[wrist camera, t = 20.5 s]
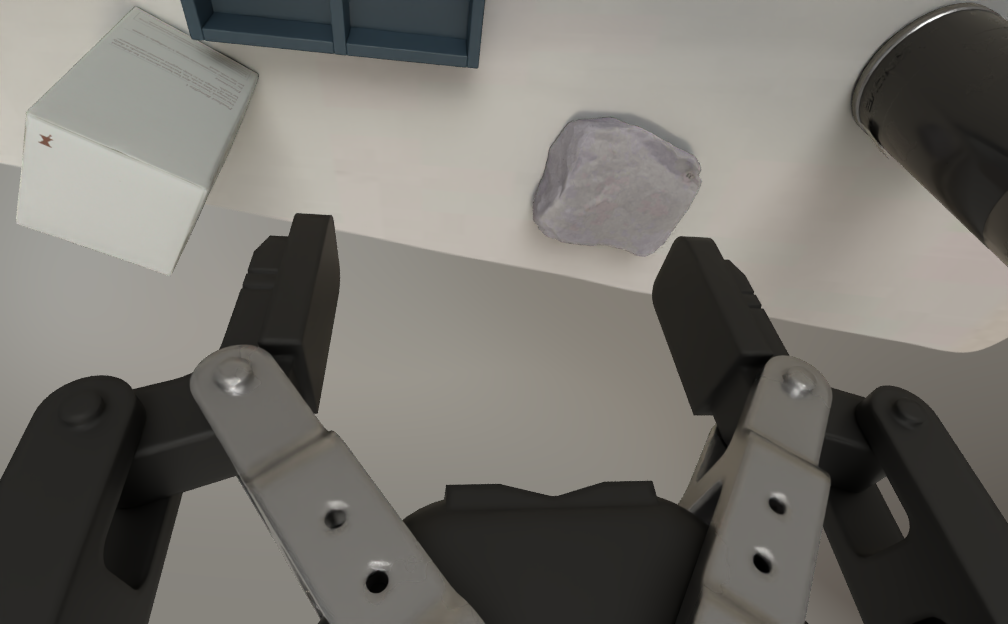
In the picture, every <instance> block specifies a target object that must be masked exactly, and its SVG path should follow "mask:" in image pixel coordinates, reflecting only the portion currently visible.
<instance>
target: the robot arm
mask: <svg viewBox="0 0 1008 624" xmlns="http://www.w3.org/2000/svg"><path fill="white" fill-rule="evenodd" d="M852 113H853V117H854V120H855V122H856V123H857V125H858V126H859V127H860V128H861V129H862V130H863V131H864V132H865V133H866V134H868V135H869V136H870V138H871V139H872V140H873V142H874V143H875V145H876V146H877V148H878V149H879V150H880V151H881V152H882V153H883V154H884V155H885V156H886V154H885V153H884V151H883V150H882V149H881V147H880V146H879V144H880V145H881V146H882V147H883V148H884V149H885V150H886V151H887V152H888V153H889V154H890V155H891V156H892V157H893V158H894V159H895V160H896V161H897V162H899V163H900V164H901V165H902V166H903V167H904V168H905V169H906V170H907V171H908V172H909V173H910V174H911V175H912V176H913V177H914V178H915V179H916V180H917V181H918V182H919V183H920V184H921V185H922V186H924V187H925V188H926V189H927V190H928V191H929V192H930V193H931V194H932V195H933V196H934V197H935V198H936V199H937V200H938V201H939V202H940V203H941V204H942V205H943V206H944V207H945V208H946V209H947V210H949V211H950V212H951V213H952V214H953V215H954V216H955V217H956V218H957V219H958V220H959V221H960V222H961V223H962V224H963V225H964V226H965V227H966V228H967V229H968V230H969V231H970V232H971V233H972V234H973V235H975V236H976V237H977V238H978V239H979V240H980V241H981V242H982V243H983V244H984V245H985V246H986V247H987V248H988V249H990V250H991V251H992V252H993V253H994V254H995V255H996V256H997V257H998V258H999V259H1000V260H1001V261H1002V262H1003V263H1004V264H1005V265H1006V266H1007V267H1008V21H1007V20H1005V19H1003V18H1002V17H1001V16H1000V15H999V14H998V13H996V12H995V11H993V10H991V9H989V8H987V7H985V6H983V5H980V4H975V3H959V4H953V5H949V6H945V7H942V8H939V9H937V10H934V11H932V12H930V13H928V14H926V15H924V16H922V17H920V18H918V19H917V20H915V21H913V22H912V23H910V24H909V25H907V26H906V27H904V28H903V29H902V30H900V31H899V32H898V33H897V34H896V35H894V36H893V37H892V38H891V39H890V40H889V41H888V42H887V43H886V44H885V45H884V46H883V47H882V48H881V49H880V50H879V51H878V52H877V53H876V54H875V55H874V57H873V58H872V59H871V61H870V62H869V63H868V65H867V66H866V68H865V69H864V71H863V73H862V74H861V76H860V78H859V80H858V83H857V85H856V87H855V91H854V94H853V99H852ZM877 142H878V143H879V144H878V143H877ZM886 157H887V156H886ZM887 158H888V157H887ZM339 287H340V267H339V259H338V250H337V242H336V235H335V227H334V220H333V217H332V215H319V214H301V213H296V214H295V216H294V219H293V222H292V226H291V229H290V233H289V236H288V237H287V236H269V237H268V238H267V239H266V240H265V241H264V242H263V243H262V244H261V246H259V247H258V248H257V249H256V250H255V251H254V253H253V256H252V259H251V262H250V265H249V268H248V274H246V276H245V279H244V282H243V288H242V289H241V291H240V293H239V296H238V299H237V302H236V305H235V308H234V311H233V313H232V316H231V319H230V322H229V325H228V328H227V331H226V333H225V337H224V339H223V342H222V344H221V347H220V349H219V350H217V351H215V352H213V353H212V354H210V355H208V356H207V357H206V358H205V359H203V360H202V361H201V362H200V363H199V364H198V366H197V367H196V368H195V370H194V372H192V373H191V374H188V375H186V376H184V377H180V378H177V379H174V380H170V381H166V382H161V383H157V384H153V385H149V386H145V387H141V388H137V389H132V388H131V386H130V385H129V384H128V383H126V382H125V381H123V380H122V379H119V378H116V377H112V376H103V375H100V376H90V377H85V378H81V379H78V380H75V381H73V382H70V383H68V384H66V385H64V386H62V387H60V388H59V389H57V390H56V391H54V392H53V393H51V394H50V395H49V396H48V397H47V398H46V399H45V400H43V402H42V403H41V404H40V405H39V406H38V408H37V409H36V411H35V413H34V414H33V416H32V418H31V420H30V422H29V424H28V426H27V428H26V430H25V432H24V434H23V436H22V438H21V440H20V442H19V444H18V446H17V448H16V450H15V452H14V454H13V456H12V458H11V460H10V462H9V464H8V466H7V468H6V470H5V472H4V474H3V476H2V478H1V479H0V624H148V622H149V618H150V614H151V610H152V607H153V603H154V599H155V595H156V592H157V588H158V584H159V580H160V576H161V573H162V569H163V565H164V561H165V558H166V554H167V550H168V546H169V542H170V538H171V535H172V531H173V527H174V523H175V520H176V516H177V512H178V508H179V505H180V501H181V497H182V493H183V492H185V491H189V490H192V489H195V488H198V487H201V486H205V485H208V484H211V483H214V482H218V481H221V480H224V479H227V478H230V477H234V476H236V477H237V478H238V480H239V482H240V483H241V485H242V487H243V488H244V490H245V492H246V493H247V495H248V497H249V499H250V500H251V502H252V504H253V505H254V507H255V509H256V510H257V512H258V514H259V515H260V517H261V519H262V521H263V522H264V524H265V526H266V527H267V529H268V530H269V532H270V534H271V536H272V538H273V539H274V541H275V543H276V544H277V546H278V548H279V549H280V551H281V553H282V555H283V557H284V558H285V560H286V562H287V564H288V566H289V567H290V569H291V571H292V572H293V574H294V576H295V578H296V579H297V581H298V582H299V584H300V586H301V588H302V589H303V591H304V593H305V595H306V596H307V598H308V599H309V601H310V603H311V605H312V606H313V608H314V610H315V611H316V613H317V615H318V616H319V618H320V621H319V623H318V624H808V623H807V622H806V621H805V617H806V612H807V607H808V602H809V596H810V591H811V586H812V581H813V575H814V570H815V565H816V559H817V554H818V549H819V544H820V538H821V533H822V528H824V530H825V533H826V535H827V537H828V540H829V542H830V544H831V547H832V549H833V552H834V554H835V556H836V559H837V561H838V563H839V566H840V568H841V571H842V573H843V575H844V578H845V580H846V583H847V585H848V587H849V590H850V592H851V594H852V597H853V599H854V601H855V604H856V606H857V608H858V611H859V613H860V616H861V618H862V620H863V623H864V624H1008V523H1007V522H1006V520H1005V519H1004V517H1003V515H1002V514H1001V512H1000V511H999V509H998V508H997V506H996V505H995V503H994V502H993V500H992V499H991V497H990V496H989V494H988V493H987V491H986V489H985V488H984V486H983V485H982V483H981V482H980V480H979V479H978V477H977V476H976V474H975V473H974V471H973V470H972V469H971V467H970V465H969V464H968V462H967V460H966V459H965V458H964V456H963V454H962V453H961V452H960V450H959V448H958V447H957V445H956V444H955V442H954V441H953V439H952V438H951V436H950V435H949V433H948V432H947V430H946V429H945V427H944V425H943V424H942V422H941V421H940V419H939V418H938V417H937V415H936V414H935V412H934V411H933V410H932V409H931V408H930V407H929V406H928V405H927V404H926V403H925V402H924V401H923V400H922V399H920V398H919V397H917V396H916V395H914V394H912V393H911V392H909V391H907V390H904V389H902V388H899V387H895V386H880V387H878V388H876V389H875V390H874V391H873V392H872V393H871V394H869V395H868V396H867V397H866V398H865V397H861V396H858V395H855V394H851V393H848V392H844V391H841V390H838V389H834V388H831V387H830V385H829V383H828V381H827V380H826V379H825V377H824V376H823V375H822V374H821V373H820V372H819V371H818V370H817V369H816V368H815V367H813V366H812V365H810V364H808V363H807V362H805V361H803V360H801V359H798V358H795V357H791V356H789V354H788V352H787V350H786V349H785V347H784V345H783V343H782V341H781V340H780V338H779V336H778V334H777V333H776V330H775V329H774V327H773V325H772V323H771V321H770V320H769V318H768V316H767V314H766V312H765V310H764V309H761V303H760V301H759V300H758V298H757V296H756V295H754V291H753V289H752V287H751V285H750V283H749V281H748V280H747V278H746V276H745V275H744V274H743V273H742V272H741V271H740V270H739V269H738V268H737V267H736V266H735V265H734V264H733V263H732V262H731V261H730V260H724V259H723V257H722V255H721V253H720V251H719V249H718V247H717V246H716V244H715V242H714V241H713V240H712V239H711V238H703V237H685V236H680V237H678V238H677V239H676V240H675V241H674V243H673V244H672V246H671V248H670V251H669V253H668V255H667V257H666V259H665V261H664V263H663V265H662V267H661V269H660V271H659V273H658V275H657V277H656V279H655V282H654V285H653V291H652V300H653V305H654V308H655V311H656V314H657V316H658V319H659V322H660V324H661V327H662V330H663V332H664V335H665V338H666V341H667V344H668V346H669V349H670V352H671V354H672V357H673V360H674V363H675V365H676V368H677V371H678V374H679V376H680V379H681V382H682V384H683V387H684V390H685V392H686V395H687V398H688V401H689V404H690V406H691V409H692V412H693V414H694V415H713V416H714V419H715V421H716V424H715V425H714V426H713V428H712V429H711V431H710V433H709V435H708V438H707V440H706V443H705V445H704V448H703V450H702V453H701V455H700V458H699V460H698V463H697V465H696V467H695V470H694V472H693V475H692V477H691V480H690V482H689V485H688V487H687V489H686V491H685V493H684V495H683V497H682V498H681V500H680V501H679V503H678V504H675V503H673V502H671V501H668V500H665V499H663V498H660V497H657V496H656V492H655V489H654V485H653V482H652V481H620V482H602V483H599V484H595V485H592V486H589V487H586V488H582V489H579V490H576V491H573V492H569V493H566V494H563V495H559V496H548V495H544V494H540V493H536V492H531V491H527V490H523V489H518V488H514V487H510V486H506V485H502V484H471V485H446V490H445V497H444V500H441V501H438V502H434V503H432V504H429V505H427V506H425V507H423V508H421V509H419V510H417V511H415V512H414V513H412V514H410V515H409V516H407V517H406V518H405V519H403V520H402V519H401V518H400V517H399V515H398V514H397V512H396V511H395V510H394V508H393V507H392V506H391V504H390V503H389V502H388V500H387V499H386V498H385V496H384V495H383V494H382V492H381V491H380V489H379V488H378V487H377V486H376V484H375V483H374V481H373V480H372V479H371V477H370V476H369V475H368V473H367V472H366V471H365V469H364V468H363V466H362V465H361V464H360V462H359V461H358V460H357V458H356V457H355V456H354V455H353V453H352V452H351V451H350V449H349V448H348V446H347V445H346V444H345V442H344V441H343V440H342V439H341V437H340V436H339V435H338V434H337V433H336V432H334V431H327V430H326V429H325V428H324V427H323V425H322V424H321V423H320V421H319V420H318V418H317V417H316V416H315V414H317V413H318V408H319V403H320V398H321V392H322V386H323V381H324V375H325V368H326V363H327V358H328V352H329V346H330V340H331V335H332V329H333V324H334V318H335V312H336V307H337V301H338V295H339ZM886 476H887V478H888V479H889V481H890V483H891V485H892V487H893V489H894V491H895V493H896V495H897V496H898V498H899V500H900V502H901V504H902V506H903V507H904V509H905V511H906V513H907V515H908V518H909V523H910V529H909V533H908V535H907V537H906V538H905V539H904V537H903V535H902V533H901V531H900V529H899V527H898V525H897V523H896V521H895V520H894V518H893V516H892V514H891V512H890V510H889V508H888V506H887V504H886V502H885V500H884V498H883V496H882V495H881V492H880V490H879V489H878V487H877V485H876V483H877V482H878V481H880V480H881V479H883V478H884V477H886Z"/></svg>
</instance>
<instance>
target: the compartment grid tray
mask: <svg viewBox="0 0 1008 624" xmlns="http://www.w3.org/2000/svg"><path fill="white" fill-rule="evenodd" d="M181 4H182V7H183V11H184V14H185V18H186V21H187V25H188V29H189V32H190V36H191V39H193V40H203V41H204V40H205V41H212V42H222V43H232V44H242V45H252V46H261V47H271V48H281V49H291V50H300V51H310V52H320V53H330V54H334V53H335V54H338V55H348V56H358V57H367V58H377V59H387V60H397V61H407V62H416V63H426V64H436V65H446V66H455V67H465V68H466V67H468V68H476V69H477V68H478V65H479V55H480V45H481V35H482V25H483V15H484V5H485V0H181Z"/></svg>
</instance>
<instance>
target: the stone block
mask: <svg viewBox="0 0 1008 624" xmlns="http://www.w3.org/2000/svg"><path fill="white" fill-rule="evenodd" d="M700 171H701V167H700V163H699V162H698V160H697V158H696V157H695V156H693V155H692V154H690V153H688V152H685V151H684V150H681V149H679V148H677V147H675V146H673V145H672V144H671V143H669V142H668V141H664V140H662V139H660V138H659V137H657V136H656V135H655V134H654V133H651V132H649V131H647V130H645V129H643V128H641V127H639V126H634V125H629V124H627V123H625V122H622V121H619V120H618V119H616V118H612V117H602V118H597V119H582V120H576V121H572V122H570V123H568V124H567V126H566V127H565V128H564V130H563V132H562V133H561V134H560V135H559V137H558V138H557V140H556V141H555V142H554V143H553V145H552V146H551V147H550V150H549V155H548V160H547V163H546V168H545V172H544V175H543V178H542V179H541V181H540V184H539V188H538V190H537V193H536V196H535V199H534V201H533V220H534V222H535V223H536V224H537V225H538V228H539V229H540V230H541V231H542V232H543V233H544V234H545V235H546V236H547V237H550V238H553V239H556V240H559V241H561V242H565V243H570V244H578V245H587V246H594V245H606V246H612V247H615V248H618V249H625V250H626V251H629V252H631V253H633V254H635V255H637V256H644V257H645V256H648V255H650V254H652V253H654V252H655V251H656V250H657V249H658V248H659V247H660V246H661V245H663V244H664V243H665V241H666V239H667V238H668V237H669V236H670V234H671V232H672V231H673V230H674V228H675V227H676V225H677V224H678V223H679V221H680V220H681V219H682V217H683V216H684V214H685V213H686V212H687V210H688V209H689V207H690V206H691V204H692V202H693V200H694V198H695V196H696V194H697V193H698V190H699V188H700V186H701V183H702V180H701V178H700V177H699V173H700Z"/></svg>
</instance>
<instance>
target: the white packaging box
mask: <svg viewBox="0 0 1008 624" xmlns="http://www.w3.org/2000/svg"><path fill="white" fill-rule="evenodd" d="M258 77H259V75H258V74H257V73H255V72H253V71H252V70H250V69H248V68H246V67H244V66H242V65H241V64H239V63H237V62H235V61H234V60H232V59H230V58H228V57H226V56H224V55H223V54H221V53H219V52H217V51H215V50H214V49H212V48H210V47H208V46H206V45H205V44H203V43H201V42H199V41H197V40H193V39H191V37H190V36H188V35H186V34H185V33H183V32H181V31H179V30H177V29H176V28H174V27H172V26H170V25H168V24H167V23H165V22H163V21H161V20H159V19H158V18H156V17H154V16H152V15H150V14H148V13H147V12H145V11H143V10H141V9H140V8H138V7H134V8H133V9H132V10H131V11H130V12H129V13H127V14H126V15H125V16H124V17H123V18H122V19H121V20H120V21H119V22H118V23H117V24H116V25H115V26H114V27H113V28H112V29H111V30H110V31H109V32H108V33H107V34H106V35H105V36H104V37H103V38H102V39H101V40H100V41H99V42H98V43H97V44H96V45H95V46H94V47H93V48H92V49H91V50H90V51H89V52H87V53H86V54H85V55H84V56H83V57H82V58H81V59H80V60H79V61H78V62H77V63H76V64H75V65H74V66H73V67H72V68H71V69H70V70H69V71H68V72H67V73H66V74H65V75H64V76H63V77H62V78H61V79H60V80H59V81H58V82H56V83H55V84H54V85H53V86H52V87H51V88H50V89H49V90H48V91H47V92H46V93H45V94H44V95H43V96H42V97H41V98H40V99H39V100H38V101H37V102H36V103H35V104H34V105H33V106H32V107H30V108H29V109H28V111H27V112H26V122H25V135H24V147H23V160H22V169H21V179H20V187H19V197H18V205H17V214H16V223H17V224H19V225H21V226H24V227H27V228H30V229H33V230H36V231H39V232H42V233H45V234H48V235H51V236H55V237H57V238H60V239H63V240H66V241H69V242H72V243H75V244H78V245H81V246H84V247H86V248H89V249H92V250H95V251H98V252H101V253H104V254H107V255H110V256H113V257H116V258H119V259H122V260H125V261H128V262H130V263H133V264H136V265H139V266H142V267H145V268H148V269H151V270H154V271H156V272H159V273H163V274H165V275H168V276H171V274H172V273H173V271H174V269H175V267H176V265H177V262H178V260H179V258H180V256H181V254H182V252H183V250H184V248H185V245H186V244H187V242H188V239H189V237H190V235H191V233H192V231H193V229H194V227H195V224H196V222H197V220H198V218H199V216H200V213H201V211H202V209H203V207H204V204H205V202H206V200H207V197H208V195H209V193H210V191H211V189H212V187H213V185H214V183H215V181H216V179H217V177H218V175H219V173H220V171H221V169H222V167H223V165H224V163H225V160H226V158H227V156H228V153H229V151H230V149H231V146H232V144H233V142H234V139H235V137H236V134H237V132H238V130H239V127H240V125H241V122H242V120H243V117H244V115H245V112H246V110H247V107H248V104H249V102H250V99H251V97H252V94H253V92H254V89H255V86H256V84H257V80H258Z"/></svg>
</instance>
